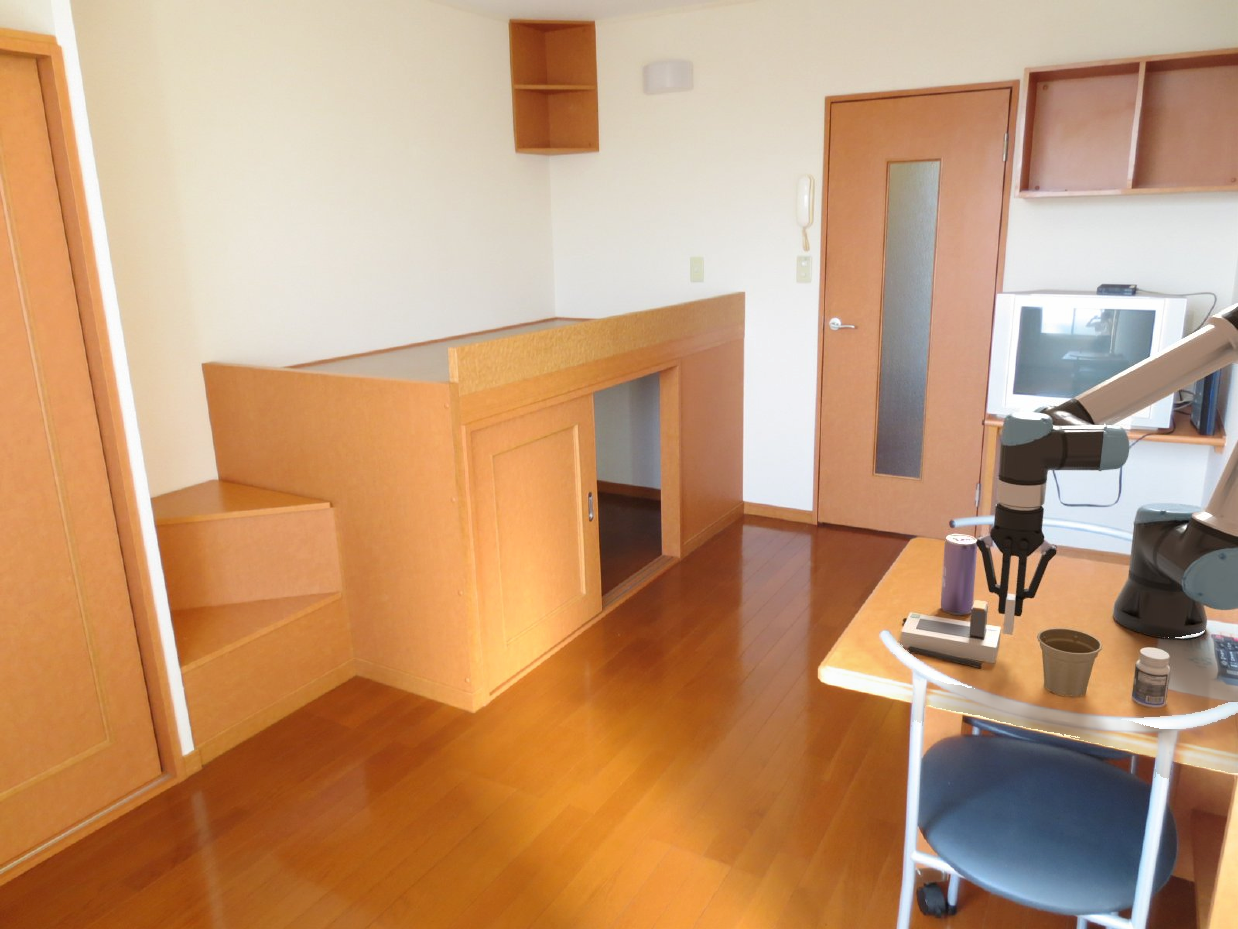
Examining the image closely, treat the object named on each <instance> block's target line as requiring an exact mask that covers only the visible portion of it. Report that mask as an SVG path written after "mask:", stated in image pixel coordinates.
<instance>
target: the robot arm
mask: <svg viewBox="0 0 1238 929" xmlns="http://www.w3.org/2000/svg"><path fill="white" fill-rule="evenodd" d="M1232 363H1233V364H1238V302H1236V303H1234V304H1232V305H1230V306H1229V307H1227V308H1225V309H1223V310H1221V311H1219V312H1217V313H1216V314H1214V315H1213V316H1210V317H1208V320H1207V323H1206V325H1205V326H1204V327H1202V328H1200V329H1199V330H1196V331H1194V332H1193V333H1191V334H1189V335H1187V336H1185V337H1184V338H1182V339H1180V340H1178V341H1176V342H1174V343H1173V344H1171V345H1169V346H1167V347H1165V348H1163V349H1162V350H1160V351H1158V352H1155V353H1154V354H1151V355H1150V356H1149V357H1147V358H1145V359H1143V360H1141V361H1139V362H1138V363H1135V364H1134V365H1132V366H1130V367H1128V368H1127V369H1124V370H1123V371H1121V372H1118V373H1116V375H1113V376H1112V377H1109V378H1108V379H1106V380H1104V381H1102V382H1100V383H1099V384H1097V385H1095V386H1093V387H1091V388H1089V389H1087V390H1086V391H1084V392H1082V393H1080V394H1078V395H1077V396H1075V397H1073V398H1071V399H1069V400H1067V401H1065V402H1063V403H1062V404H1059V405H1042V406H1041V407H1038V408H1036V409H1035V410H1033V411H1032V412H1031V411H1019V412H1018V411H1016V412H1011V413H1009V414H1007V415H1006V416H1005V417H1004V419H1003V423H1002V427H1001V428H1002V429H1001V436H1000V439H999V440H1000V441H999V442H1000V443H999V444H1000V446H999V461H998V462H999V464H998V476H997V484H996V494H995V495H996V496H995V498H996V501H998V502H997V503H995V509H994V518H993V519H994V522H993V527H992V528H991V530H990V532H989V533H987V534H985V535H979V536H978V537H977V539H976V540H977V541H976V545H977V549H978V550H979V551H980V552H981V556H982V562H983V567H984V573H985V578H986V584H987V589H988V591H989V592H990V593H991V594H995V595H997V596H998V606H997V607H998V608H997V612H998V614H1001V615H1004V621H1003V630H1002V631H1003V632H1002V633H1003V634H1004V635H1005V634H1006V635H1010V636H1013V632H1014V627H1015V617H1021V616H1022V614H1023V608H1024V607H1023V605H1024V600H1025V599H1031V600H1032V599H1034V598H1035V597H1036V594H1037V591H1038V589H1039V587H1040V585H1041V582H1042V579H1043V577H1044V575H1045V571H1046V569H1047V567H1048V564H1049V562H1050V561H1051V560H1052V559H1053V558H1054V557H1055V556H1056V555H1057V550H1058V547H1057V545H1056V544H1054V543H1052V544H1051V543H1050V542H1048V541H1047V540H1046V539H1045V535H1044V533H1043V523H1044V522H1043V521H1044V513H1045V509H1044V507H1043V505H1045V500H1046V492H1047V481H1048V473H1049V471H1098V472H1103V471H1111V470H1112V471H1113V470H1118V469H1120V468H1122V467H1123V466H1124V465H1125V464H1126V462H1127V461H1128V458H1129V455H1130V454H1129V453H1130V440H1129V435H1128V434H1127V433H1128V432H1127V431H1126V430H1125V428H1123V427H1122V426H1120V425H1115V424H1117V423H1119V422H1121V421H1123V420H1125V419H1127V418H1129V417H1131V416H1132V415H1135V414H1137V413H1139V412H1140V411H1142V410H1144V409H1146V408H1148V407H1150V406H1152V405H1153V404H1155V403H1157V402H1160V401H1162V400H1164V399H1165V398H1167V397H1169V396H1171V395H1173V394H1174V393H1176V392H1178V391H1181V390H1182V389H1184V388H1186V387H1189V386H1190V385H1192V384H1194V383H1196V382H1198V381H1200V380H1202V379H1203V378H1205V377H1207V376H1209V375H1211V374H1213V373H1215V372H1217V371H1219V370H1220V369H1222V368H1225V367H1226V366H1228V365H1230V364H1232ZM1132 531H1133V532H1132V538H1131V539H1132V540H1131V541H1132V542H1131V547H1130V548H1131V550H1130V558H1129V559H1130V560H1129V566H1128V568H1129V569H1128V576H1127V579H1126V581H1125V583H1124V585H1123V587H1122V588H1121V590H1120V593H1118V596H1117V598H1116V600H1115V601H1114V605H1113V610H1112V611H1113V612H1112V616H1113V619H1114V620H1115V621H1116V622H1117V623H1118V624H1120V625H1121V626H1123V627H1125V628H1127V629H1129V630H1131V631H1133V632H1137V633H1140V634H1143V635H1146V636H1151V637H1154V638H1161V639H1168V637H1169V638H1175V637H1182V636H1186V635H1191V634H1196V633H1200V632H1202V631H1204V630H1205V629H1206V630H1207V624H1208V618H1207V617H1208V616H1207V612H1206V609H1205V608H1206V607H1207V608H1209V609H1212V610H1217V611H1218V610H1219V611H1231V610H1232V611H1234V610H1236V609H1237V610H1238V439H1237V441H1236V443H1235V445H1234V447H1233V449H1232V452H1231V454H1230V455H1229V457H1228V460H1227V462H1226V465H1225V467H1224V469H1223V472H1222V473H1221V476H1220V477H1219V480H1218V483H1217V484H1216V487H1215V489H1214V490H1213V493H1212V495H1211V498H1210V500H1209V501H1208V504H1207V506H1206V508H1205V507H1201V506H1198V505H1192V504H1191V505H1190V504H1184V503H1173V502H1172V503H1171V502H1170V503H1169V502H1164V503H1163V502H1155V503H1147V504H1143V505H1141V506H1139V507H1138V508H1137V511H1136V513H1135V518H1134V520H1133V530H1132ZM992 542H993V543H994V544H995V545H996V547H997V549H998V550H999V552H1000V553H1001V554H1002V558H1001V562H1002V563H1001V572H1000V582H999V583H998V582H997V576H996V575H997V574H996V570H995V566H994V559H993V556H992V551H991V547H992V546H993V544H992ZM1040 547H1041V548H1040ZM1039 548H1040V554H1041V556H1040V559H1039V561H1038V563H1037V566H1036V568H1035V570H1034V573H1033V576H1032V578H1031V580H1030V584H1029V585H1028V588H1025V587H1026V575H1027V564H1028V557H1030V556H1031V555H1032V554H1034V553H1035V551H1037V549H1039ZM1012 557H1017V558H1018V566H1017V574H1016V576H1017V577H1016V587H1015V594H1013V593H1009V592H1008V591H1009V582H1010V581H1009V580H1010V574H1011V573H1010V572H1011V571H1010V570H1011V561H1012ZM1164 637H1165V638H1164Z"/></svg>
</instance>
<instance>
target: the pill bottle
mask: <svg viewBox="0 0 1238 929" xmlns="http://www.w3.org/2000/svg"><path fill="white" fill-rule="evenodd" d="M1169 663H1170V654H1169V653H1168V651H1167V652H1166V651H1165V650H1163V649H1161V648H1157V647H1148V646H1147V647H1143V648H1141V649H1140V651H1139V656H1138V660H1137V661H1135V668H1134V675H1133V682H1132V690H1131V692H1132V693H1131V698H1132V700H1133V701H1134V702H1136V703H1137V704H1139V705H1142V706H1143V707H1148V708H1154V709H1157V708H1163V707H1164V706H1166V704H1167V699H1168V689H1169V684H1170V676H1171V667H1170V666H1169Z"/></svg>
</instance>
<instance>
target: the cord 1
mask: <svg viewBox="0 0 1238 929" xmlns="http://www.w3.org/2000/svg"><path fill="white" fill-rule="evenodd" d="M908 650H909V651H910V653H913V654H916V655H917V654H918V655H923V656H927V657H931V658H936V659H940V660H943V661H949V662H953V663H957V664H960V665H966V666H971V667H975V668H978V669H980V668H981V667H982V662H983V661H979V660H973V659H968V658H962V657H956V656H951V655H947V654H943V653H938V652H934V651H929V650H925V649H920V648H916V647H911V646H910V647H908V648H907V651H908ZM909 651H908V652H909Z"/></svg>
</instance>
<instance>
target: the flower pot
mask: <svg viewBox="0 0 1238 929" xmlns="http://www.w3.org/2000/svg"><path fill="white" fill-rule="evenodd" d="M1036 638H1037V641H1038V642H1039V647H1040V649H1041V654H1042V655H1041V658H1042V668H1043V670H1042V671H1043V684H1044V687H1045V688H1046V689H1047V690H1048V691H1049V692H1051V693H1054V694H1056V695H1058V696H1062V697H1068V696H1071V697H1074V698H1079V697H1082V696H1084V695H1085V694H1086V693H1087V689H1088V687H1089V682H1090V679H1091V674H1092V671H1093V667H1094V663H1095V660H1096V658H1097V657H1098V656H1099V652H1101V650H1103V643H1102V642H1101V641H1100V640H1099V638H1098V637H1095V636H1094V635H1092V634H1089V633H1087V632H1084V631H1081V630H1077V629H1073V628H1066V627H1065V628H1064V627H1063V628H1062V627H1051V628H1046V629H1043V630H1041V631H1039V632H1038V633H1037V636H1036Z"/></svg>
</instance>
